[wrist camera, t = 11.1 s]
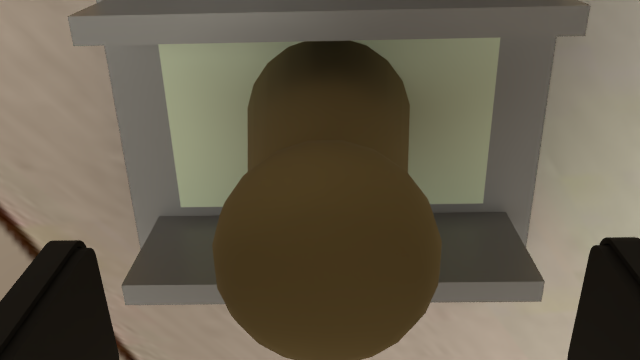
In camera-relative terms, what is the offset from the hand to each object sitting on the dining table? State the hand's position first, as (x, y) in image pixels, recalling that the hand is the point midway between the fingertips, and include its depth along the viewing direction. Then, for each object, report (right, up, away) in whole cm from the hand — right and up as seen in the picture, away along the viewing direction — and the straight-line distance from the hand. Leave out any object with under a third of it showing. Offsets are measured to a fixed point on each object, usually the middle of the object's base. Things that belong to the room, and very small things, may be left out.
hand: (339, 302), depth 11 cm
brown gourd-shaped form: (0, +5, +11) cm, 12 cm away
